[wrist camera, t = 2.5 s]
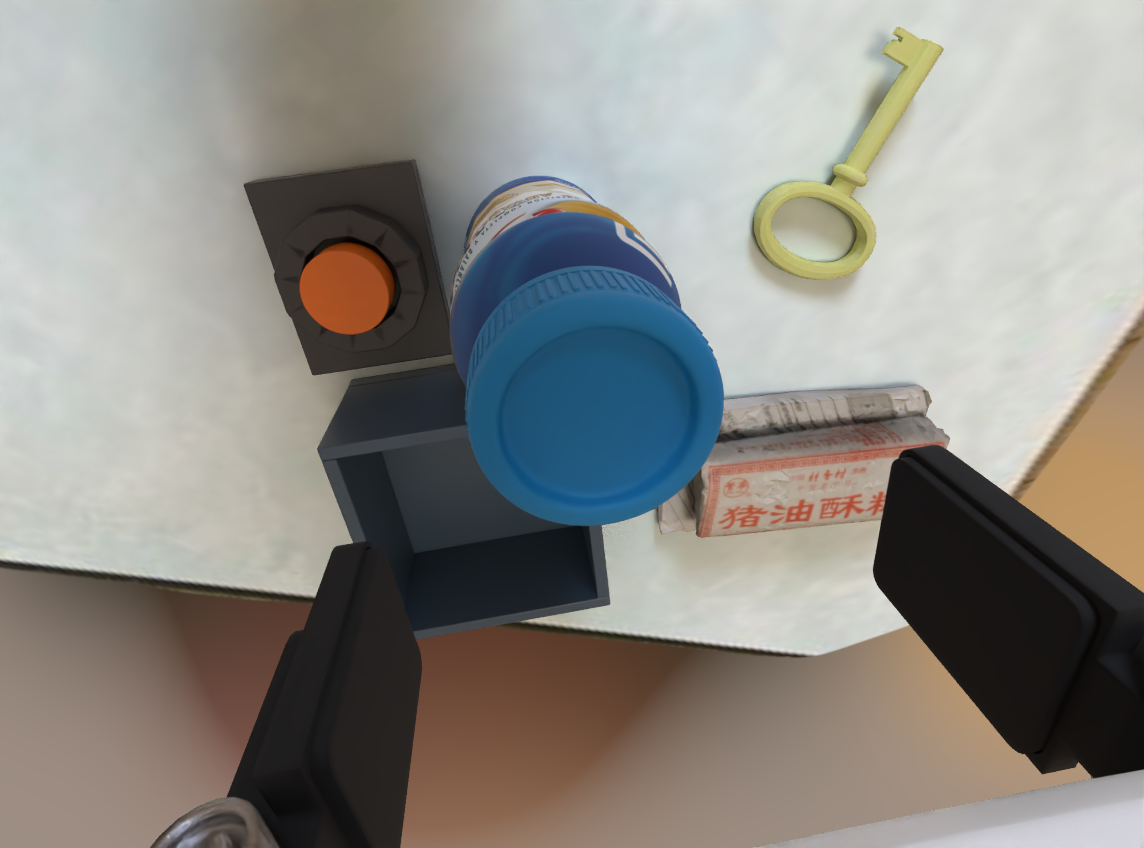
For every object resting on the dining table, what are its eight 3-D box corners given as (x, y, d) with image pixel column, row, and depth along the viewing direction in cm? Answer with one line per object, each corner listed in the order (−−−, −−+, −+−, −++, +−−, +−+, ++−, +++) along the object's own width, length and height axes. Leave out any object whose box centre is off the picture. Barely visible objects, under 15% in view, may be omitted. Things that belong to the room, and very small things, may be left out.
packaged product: (974, 411, 35) (929, 540, 40) (921, 379, 39) (887, 499, 44) (683, 438, 33) (673, 570, 38) (660, 401, 37) (654, 523, 42)
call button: (298, 248, 28) (286, 257, 26) (382, 236, 28) (375, 244, 26) (325, 327, 30) (315, 340, 28) (403, 315, 30) (398, 328, 28)
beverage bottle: (505, 350, 34) (522, 598, 17) (432, 214, 30) (355, 355, 13) (636, 290, 34) (795, 482, 16) (579, 142, 30) (709, 186, 12)
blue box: (351, 379, 34) (316, 449, 27) (568, 346, 35) (588, 405, 28) (408, 552, 41) (392, 644, 34) (589, 521, 41) (610, 605, 34)
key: (925, 35, 29) (955, 30, 27) (852, 279, 35) (872, 288, 33) (792, 20, 28) (813, 14, 26) (739, 273, 34) (753, 283, 32)
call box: (252, 180, 29) (227, 188, 26) (415, 159, 29) (407, 164, 26) (318, 366, 33) (303, 389, 31) (457, 345, 34) (454, 366, 31)
